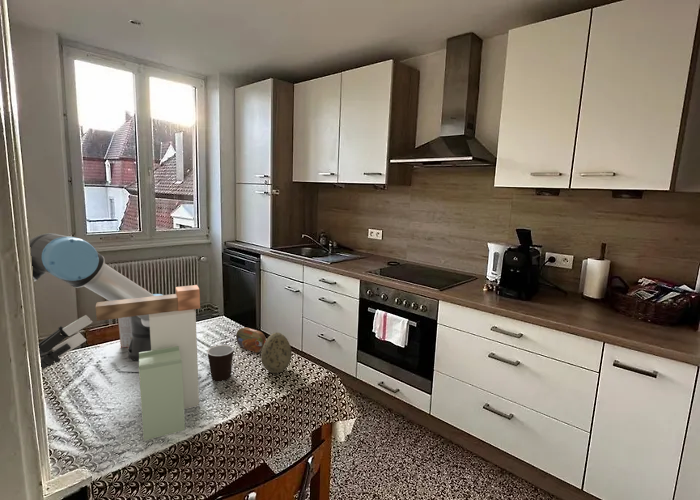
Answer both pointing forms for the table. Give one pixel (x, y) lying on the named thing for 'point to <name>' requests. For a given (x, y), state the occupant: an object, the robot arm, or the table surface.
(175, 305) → the bar
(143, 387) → the mint green upright block
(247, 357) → the table surface
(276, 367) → the decorative egg
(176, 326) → the tall white pillar
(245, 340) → the tin
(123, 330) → the cracker box
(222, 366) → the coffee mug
